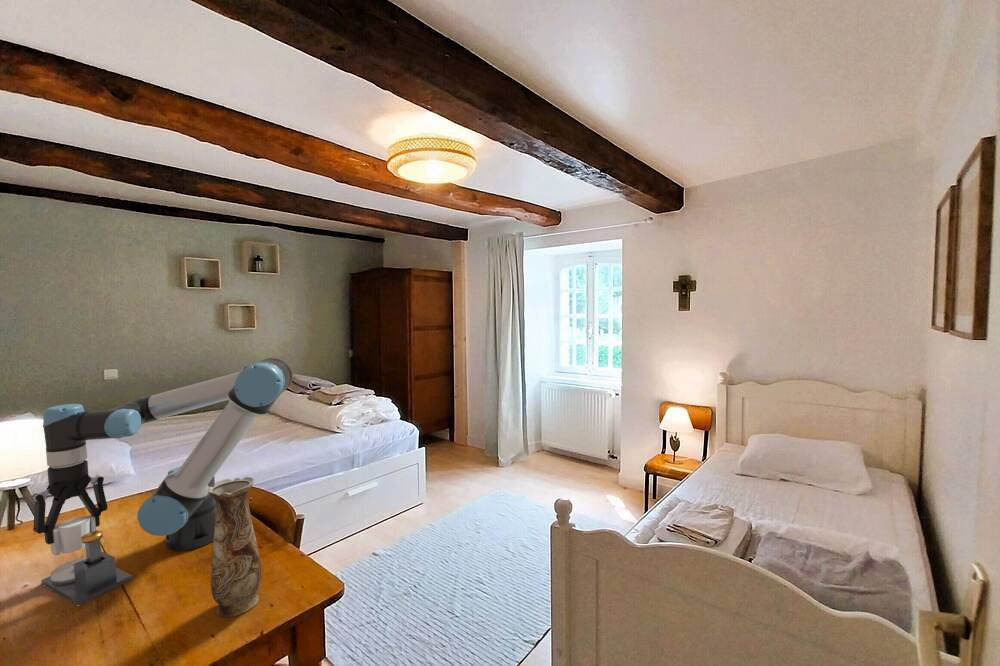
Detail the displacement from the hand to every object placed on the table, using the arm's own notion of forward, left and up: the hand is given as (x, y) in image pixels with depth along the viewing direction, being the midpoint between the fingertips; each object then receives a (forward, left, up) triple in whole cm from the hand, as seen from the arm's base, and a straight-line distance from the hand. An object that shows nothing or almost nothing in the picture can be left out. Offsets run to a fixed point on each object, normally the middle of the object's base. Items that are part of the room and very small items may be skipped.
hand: (74, 546), depth 115 cm
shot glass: (0, 0, -1) cm, 1 cm away
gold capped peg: (-9, +4, -3) cm, 10 cm away
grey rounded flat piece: (0, 0, -8) cm, 8 cm away
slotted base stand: (-5, +2, -9) cm, 10 cm away
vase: (-51, +11, -9) cm, 53 cm away
